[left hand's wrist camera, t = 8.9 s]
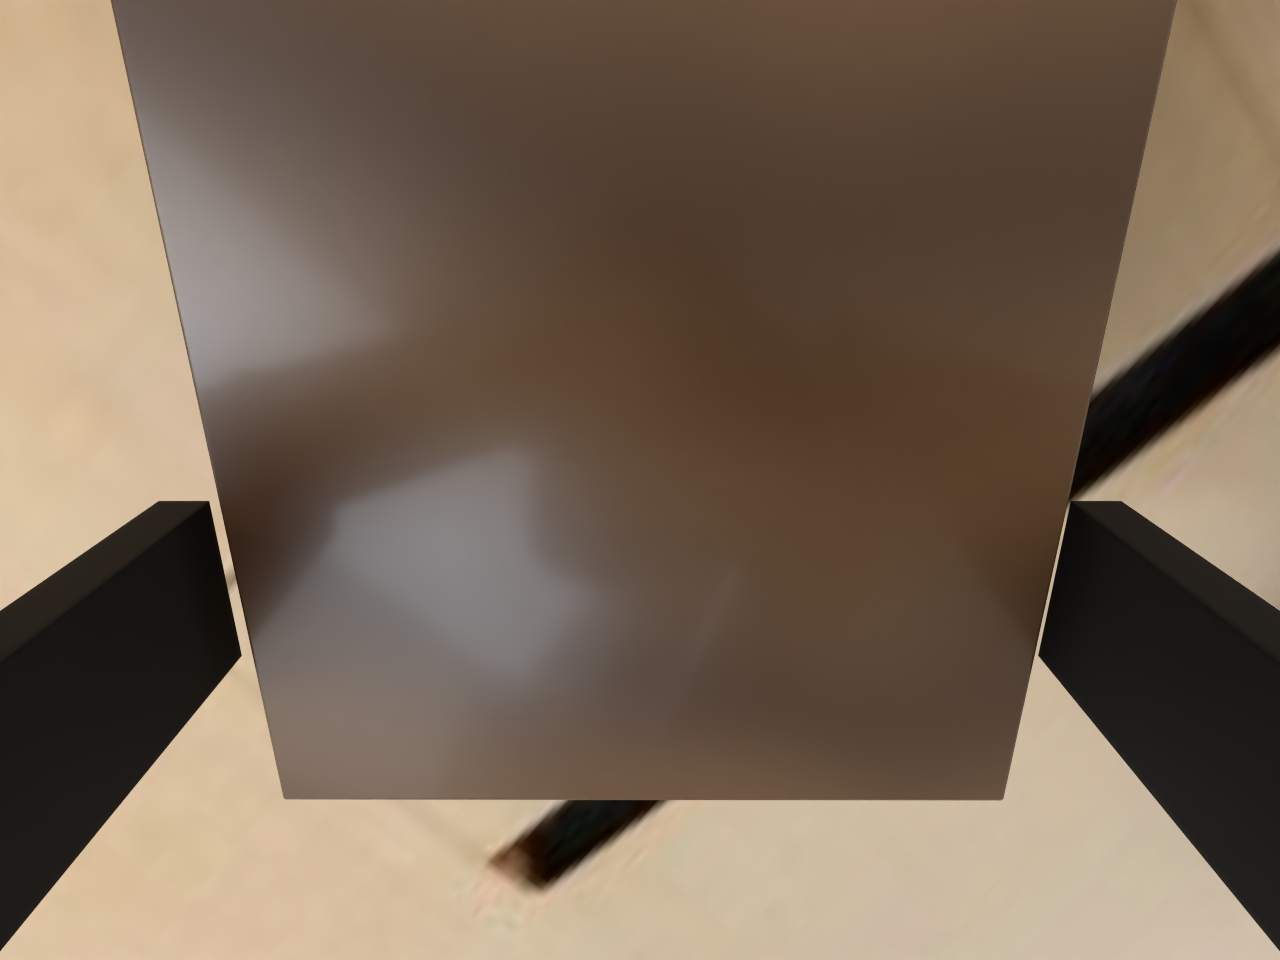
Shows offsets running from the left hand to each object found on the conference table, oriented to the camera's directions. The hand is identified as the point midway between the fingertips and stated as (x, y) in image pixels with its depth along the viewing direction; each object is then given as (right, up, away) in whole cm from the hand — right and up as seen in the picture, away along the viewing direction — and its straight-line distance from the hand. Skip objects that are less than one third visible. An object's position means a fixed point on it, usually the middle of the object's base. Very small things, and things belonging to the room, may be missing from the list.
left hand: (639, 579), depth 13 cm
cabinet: (0, +10, +8) cm, 13 cm away
